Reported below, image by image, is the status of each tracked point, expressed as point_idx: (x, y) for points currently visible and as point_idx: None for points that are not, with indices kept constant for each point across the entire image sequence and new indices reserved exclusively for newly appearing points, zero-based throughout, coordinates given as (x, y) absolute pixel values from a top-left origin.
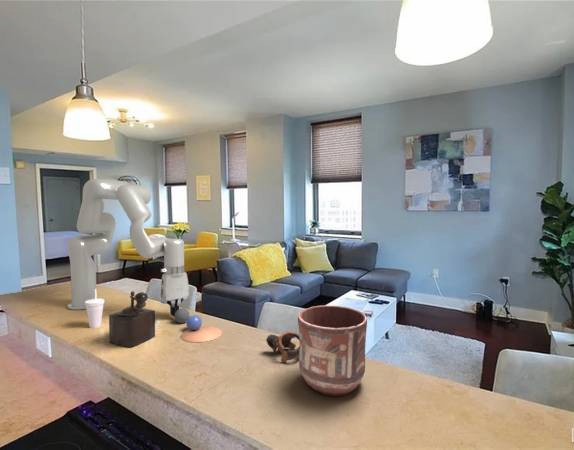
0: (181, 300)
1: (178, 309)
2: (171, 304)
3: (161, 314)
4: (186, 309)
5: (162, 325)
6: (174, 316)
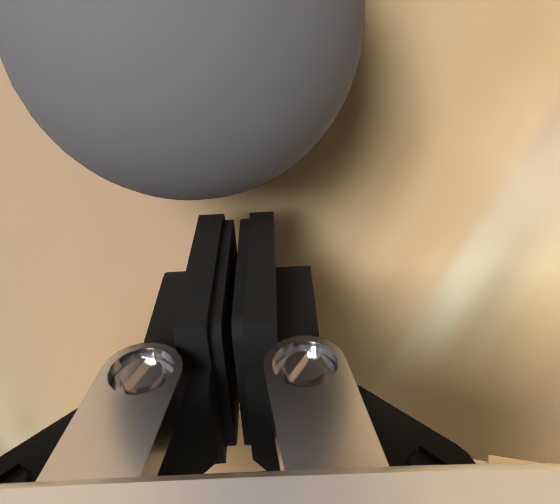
0: (29, 470)
1: (248, 132)
2: (359, 395)
3: None
4: (19, 19)
5: (524, 92)
6: (273, 217)
